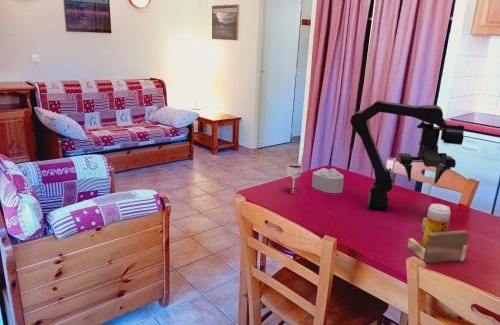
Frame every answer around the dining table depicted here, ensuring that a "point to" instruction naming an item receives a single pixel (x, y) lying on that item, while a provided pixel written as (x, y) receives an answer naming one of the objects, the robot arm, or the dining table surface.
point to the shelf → (441, 246)
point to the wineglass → (294, 171)
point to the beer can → (436, 220)
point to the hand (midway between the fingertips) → (422, 182)
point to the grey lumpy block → (328, 180)
